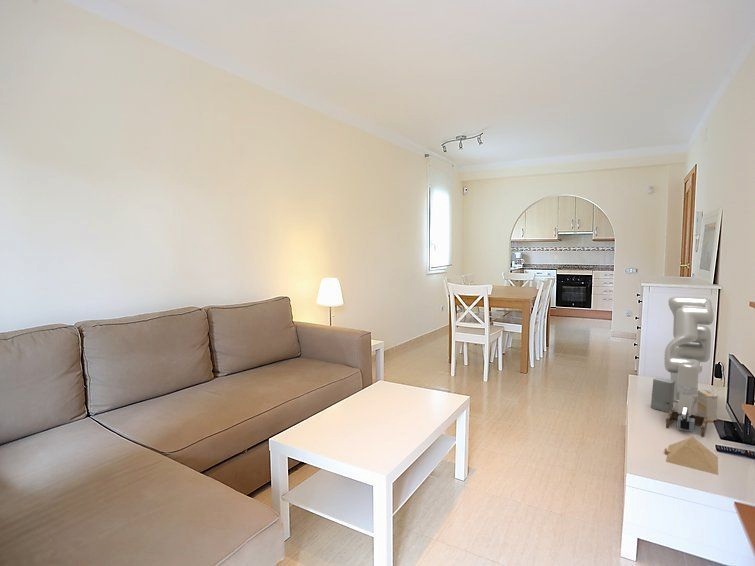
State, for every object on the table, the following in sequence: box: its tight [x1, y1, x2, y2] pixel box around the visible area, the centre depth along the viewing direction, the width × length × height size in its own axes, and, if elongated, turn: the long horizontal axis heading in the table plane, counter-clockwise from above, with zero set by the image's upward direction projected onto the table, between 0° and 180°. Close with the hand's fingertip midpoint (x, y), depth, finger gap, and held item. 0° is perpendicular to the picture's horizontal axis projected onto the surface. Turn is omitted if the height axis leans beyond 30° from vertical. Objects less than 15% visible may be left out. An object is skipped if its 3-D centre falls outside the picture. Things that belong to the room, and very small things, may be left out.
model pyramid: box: [664, 436, 719, 476], centre depth 162 cm, size 17×17×10 cm
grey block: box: [676, 415, 696, 433], centre depth 188 cm, size 4×6×5 cm
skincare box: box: [650, 376, 675, 413], centre depth 210 cm, size 8×7×16 cm
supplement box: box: [696, 389, 719, 423], centre depth 197 cm, size 8×5×13 cm, turn 168°
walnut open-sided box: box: [665, 409, 708, 438], centre depth 189 cm, size 13×14×4 cm
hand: (686, 425), depth 188 cm, fingers open, 9 cm apart
